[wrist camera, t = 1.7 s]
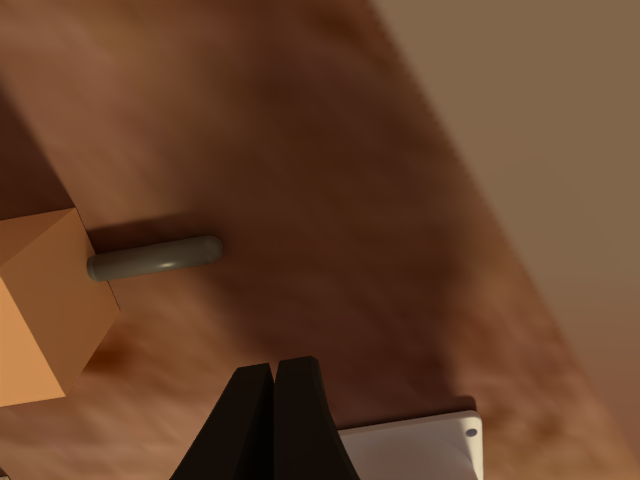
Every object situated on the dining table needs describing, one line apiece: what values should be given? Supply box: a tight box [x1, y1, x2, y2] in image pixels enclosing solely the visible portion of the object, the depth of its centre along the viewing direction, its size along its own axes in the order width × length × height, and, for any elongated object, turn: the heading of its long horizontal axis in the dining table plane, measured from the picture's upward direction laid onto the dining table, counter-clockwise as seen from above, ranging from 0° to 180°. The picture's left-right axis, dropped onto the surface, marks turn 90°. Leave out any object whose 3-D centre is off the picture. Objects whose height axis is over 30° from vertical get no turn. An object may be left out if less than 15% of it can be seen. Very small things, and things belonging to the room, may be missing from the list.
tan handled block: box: [0, 207, 223, 407], centre depth 15 cm, size 4×9×4 cm, turn 99°
